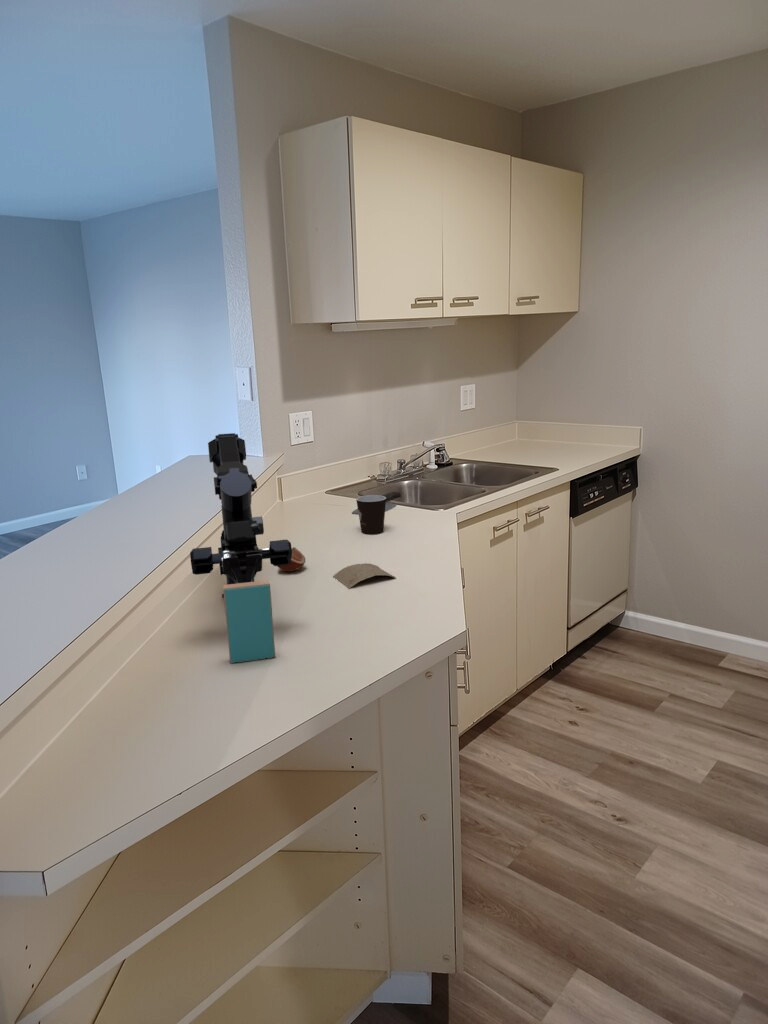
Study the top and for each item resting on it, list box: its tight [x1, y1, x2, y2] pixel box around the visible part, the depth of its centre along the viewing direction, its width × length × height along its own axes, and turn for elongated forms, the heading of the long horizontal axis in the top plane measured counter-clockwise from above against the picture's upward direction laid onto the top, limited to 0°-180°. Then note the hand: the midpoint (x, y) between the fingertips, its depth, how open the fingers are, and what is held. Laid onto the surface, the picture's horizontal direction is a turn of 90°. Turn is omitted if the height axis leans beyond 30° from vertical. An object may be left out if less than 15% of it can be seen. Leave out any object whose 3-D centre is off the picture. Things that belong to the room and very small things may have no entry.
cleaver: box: [351, 491, 402, 516], centre depth 243 cm, size 29×10×2 cm, turn 155°
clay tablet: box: [332, 562, 397, 589], centre depth 171 cm, size 14×10×3 cm
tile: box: [222, 579, 276, 664], centre depth 128 cm, size 2×8×14 cm, turn 104°
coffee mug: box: [355, 494, 387, 536], centre depth 211 cm, size 12×9×10 cm
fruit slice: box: [277, 546, 306, 572], centre depth 178 cm, size 8×7×5 cm
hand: (246, 597), depth 134 cm, fingers closed
